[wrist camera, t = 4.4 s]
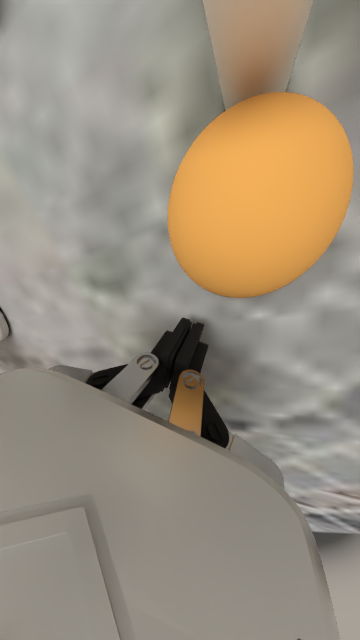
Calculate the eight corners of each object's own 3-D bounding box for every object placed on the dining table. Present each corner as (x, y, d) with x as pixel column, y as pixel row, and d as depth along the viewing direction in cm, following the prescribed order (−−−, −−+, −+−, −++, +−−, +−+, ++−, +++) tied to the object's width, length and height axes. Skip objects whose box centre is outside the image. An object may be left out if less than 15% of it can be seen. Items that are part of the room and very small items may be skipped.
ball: (204, -92, 3) (222, 140, 8) (113, 258, 5) (172, 257, 11) (579, 54, 2) (334, 196, 8) (278, 354, 5) (253, 303, 10)
